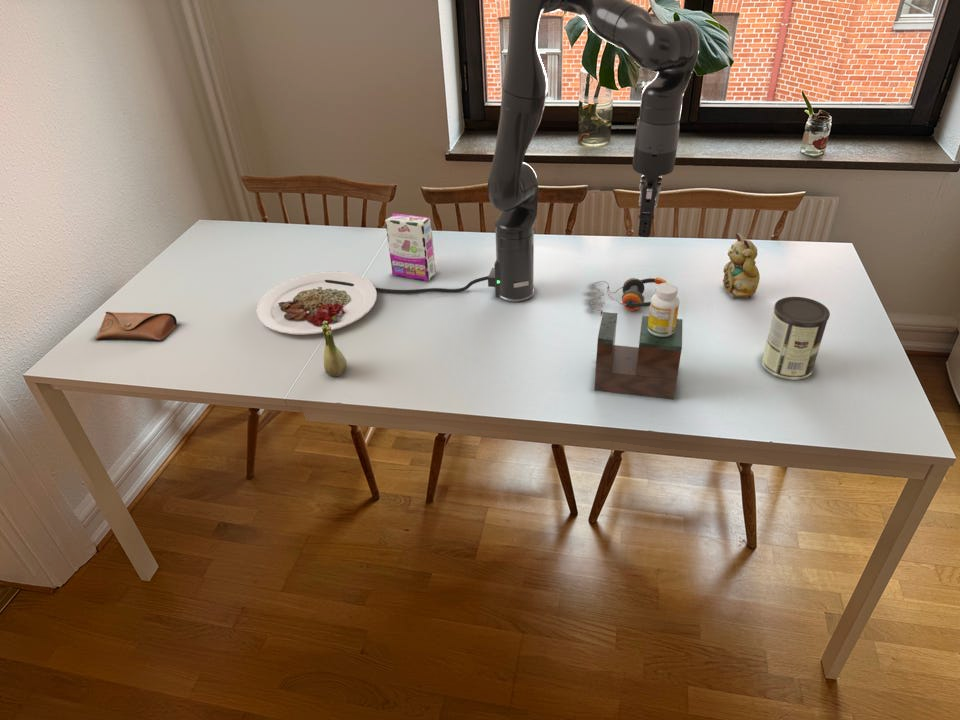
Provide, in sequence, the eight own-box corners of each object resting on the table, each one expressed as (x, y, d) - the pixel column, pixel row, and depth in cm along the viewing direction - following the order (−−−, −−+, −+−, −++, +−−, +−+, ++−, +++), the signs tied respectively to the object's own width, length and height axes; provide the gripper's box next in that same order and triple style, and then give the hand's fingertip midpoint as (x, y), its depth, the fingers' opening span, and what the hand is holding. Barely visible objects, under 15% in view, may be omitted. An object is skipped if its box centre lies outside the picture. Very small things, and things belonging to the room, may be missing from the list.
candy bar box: (436, 273, 186) (431, 217, 176) (428, 282, 182) (423, 225, 172) (400, 267, 189) (393, 212, 180) (391, 275, 186) (384, 219, 176)
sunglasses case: (91, 339, 165) (90, 312, 165) (109, 338, 172) (108, 311, 172) (162, 340, 164) (161, 312, 163) (178, 339, 171) (177, 312, 170)
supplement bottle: (657, 340, 133) (662, 297, 127) (641, 326, 137) (646, 284, 131) (680, 333, 135) (687, 291, 129) (664, 320, 139) (670, 278, 133)
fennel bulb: (330, 363, 154) (320, 318, 147) (351, 364, 153) (342, 319, 146) (322, 379, 149) (312, 333, 142) (344, 380, 149) (335, 334, 142)
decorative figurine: (714, 285, 174) (724, 230, 165) (744, 280, 176) (755, 226, 167) (734, 304, 167) (745, 248, 158) (765, 298, 168) (778, 243, 159)
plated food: (320, 267, 191) (318, 257, 189) (401, 296, 177) (400, 284, 175) (233, 317, 172) (229, 305, 170) (316, 353, 157) (313, 341, 155)
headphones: (587, 274, 176) (667, 262, 170) (591, 291, 179) (670, 281, 173) (582, 308, 163) (668, 297, 157) (586, 327, 166) (671, 317, 160)
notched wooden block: (594, 390, 142) (597, 338, 134) (599, 362, 150) (602, 311, 142) (673, 399, 139) (682, 346, 131) (674, 370, 146) (682, 319, 139)
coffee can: (792, 347, 151) (807, 292, 143) (823, 374, 143) (841, 317, 135) (751, 357, 149) (764, 301, 141) (780, 384, 141) (796, 327, 133)
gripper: (637, 130, 130) (628, 209, 140) (631, 156, 119) (622, 241, 129) (678, 132, 128) (666, 212, 138) (676, 159, 118) (663, 244, 127)
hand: (645, 226), depth 134 cm, fingers open, 8 cm apart
